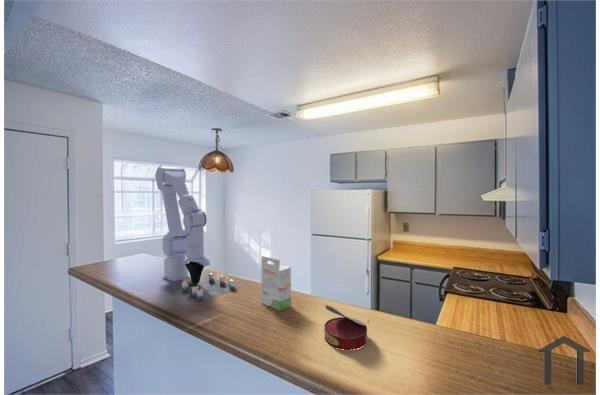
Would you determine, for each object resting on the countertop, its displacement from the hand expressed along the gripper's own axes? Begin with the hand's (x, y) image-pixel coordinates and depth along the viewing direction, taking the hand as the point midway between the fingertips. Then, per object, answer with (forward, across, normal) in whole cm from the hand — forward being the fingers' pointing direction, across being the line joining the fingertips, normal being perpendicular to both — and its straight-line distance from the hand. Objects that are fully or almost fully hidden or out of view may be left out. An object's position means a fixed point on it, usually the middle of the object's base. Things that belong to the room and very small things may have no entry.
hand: (195, 282), depth 102 cm
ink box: (+2, +34, +6) cm, 35 cm away
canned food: (+2, +60, +2) cm, 60 cm away
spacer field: (+1, +8, 0) cm, 8 cm away
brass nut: (+1, -3, 0) cm, 3 cm away
